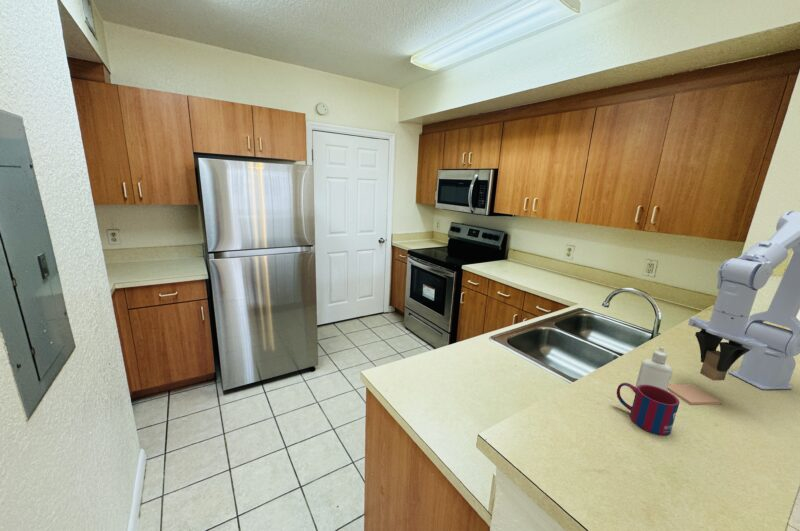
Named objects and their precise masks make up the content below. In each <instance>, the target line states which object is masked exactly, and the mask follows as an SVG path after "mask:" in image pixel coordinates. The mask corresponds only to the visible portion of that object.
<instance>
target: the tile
mask: <svg viewBox="0 0 800 531" xmlns="http://www.w3.org/2000/svg"><path fill="white" fill-rule="evenodd" d="M667 391H668V392H670V393H671V394H673V395H674V396H675V397H677V398H678V399H680V400H681V401H683V402H685V403H686V404H688V405H689V406H702V405H703V406H704V405H705V406H708V405H709V406H713V405H722V401H721V400H719V399H718V398H716V397H714V396H712V395H711V394H709V393H708V392H706V391H705V390H703V389H701V388H699V387H697V386H695V385H694V384H692V383H669V386H668V389H667Z"/></svg>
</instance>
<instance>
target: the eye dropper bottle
mask: <svg viewBox="0 0 800 531" xmlns="http://www.w3.org/2000/svg"><path fill="white" fill-rule="evenodd" d="M667 357H668V354H667V353H666V352H665V347H663V346H660V347H659V348H658V349H656V350H654V351H653V352H652V357H651V358H646V359H643V360H642V361H641V364H640V366H639V367H640V368H639V370H638V371H639V372H638V375H637V378H636V382H635V387H636V388H637V387H638V386H639V385H651V386H655V387H658V388H661V389H664V390H666V391H668V390H667V389H668V386H669V384H670V383H671V382H670V381H671V379H672V374H673V369H672V367H671V366H670V365H669V364H667V363H666V361H667Z"/></svg>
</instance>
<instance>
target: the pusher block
mask: <svg viewBox="0 0 800 531" xmlns="http://www.w3.org/2000/svg"><path fill="white" fill-rule="evenodd" d="M719 358H720V350H716V351H707V352H706V355H705V359H704V362H703V363H702V365H701V368H700V372H699V374H701V375H702V376H705V377H706V378H708V379H709V380H712V381H725V380H726V379H725V378H726V376H727V374H728V371H727V372H720V371H718V370H717V364H718V361H719Z"/></svg>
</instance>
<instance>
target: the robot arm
mask: <svg viewBox="0 0 800 531" xmlns="http://www.w3.org/2000/svg"><path fill="white" fill-rule="evenodd" d="M775 228H776V229H775V230H776V232H775V233H774V234H773V235H772V236H771V237H770V238H769V239H768V240H761V241H758V242H756V243H755V244H754V245H752V246H750V248H748V249H746V251H744V252H743V253H742V254H741V255H739V256H738V257H737V258H735V257H732V258H729V259H725V260H724V261H723V262H722V264H721V265H720V267H719V269H718V270H717V285H716V289H717V290H718V292H717V296H716V299H715V303H714V307H713V309H712V313H711V316H710V319H709V321H707V320H704V319H701V318H698V317H689V320H688V324H687V325H688V326H690V327H693V328H694V327H695V328H697V329H699V331H696V332H695V334H694V336H695V337H696V340H697V342H698V345H699V346H698V347H699V351H700V362H701V363H702V364H703V362H704V359H705V355H706V352H707V351H717V349H718V347H719V351H720V358H719V361H718V364H717V370H718V371H720V372H727V374H728V373H729V374H731V375H732V376H734V377H736V378H739V379H741V380H742V381H744V382H746V383H749V384H750V385H753V386H754V387H755V388H758V389H760V390H789V389H790V390H792V389H793V386H791V385H789V384H790V381H791V379H792V377H793V373H794V371H795V369H796V366H797V362H796V360H795V357H797V356H798V355H799V354H800V320H799V319H798V318H797V316H798V313H799V312H800V211H795V210H787V211H786V212H784V213H783V214H781V216H780V217H779V218H778V221H777V223H776V227H775ZM791 249H792V251H793V253H792V255H791V258H790V260H789V262H788V265H787V267H786V268H785V272H784V273H783V275H782V278H781V280H780V282H779V284H778V287H777V288H776V291H775V293H774V294H773V295H774V296H773V298H772V300H771V302H770V304H769V307H768V308H767V310H766V311H760V312H756V313H753V314H751V312H752V309H753V305H754V302H755V299H756V297H757V294H758V291H759V290H760V289H762V288H764V287H765V286H766V284H767V282H768V281H769V279H770V278H771V276H772V274H773V270H775V269H776V268H777V267H778V266H779V265H781V264H782V263H784V261H786V260H787V258H788V256H789V252H788V251H789V250H791ZM750 314H751V315H750ZM773 324H774V325H773ZM779 326H781V327H779ZM784 327H785V328H784ZM787 328H788V329H787ZM723 340H726V341H723ZM741 357H742V360H741V362H740V364H739V368H738V370H730V368H731V367H732V365H733V364H734V363H736V362H737V360H739V359H740V358H741Z"/></svg>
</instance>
